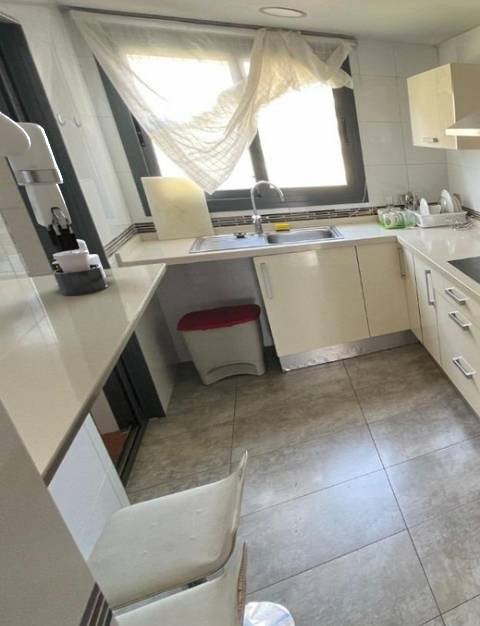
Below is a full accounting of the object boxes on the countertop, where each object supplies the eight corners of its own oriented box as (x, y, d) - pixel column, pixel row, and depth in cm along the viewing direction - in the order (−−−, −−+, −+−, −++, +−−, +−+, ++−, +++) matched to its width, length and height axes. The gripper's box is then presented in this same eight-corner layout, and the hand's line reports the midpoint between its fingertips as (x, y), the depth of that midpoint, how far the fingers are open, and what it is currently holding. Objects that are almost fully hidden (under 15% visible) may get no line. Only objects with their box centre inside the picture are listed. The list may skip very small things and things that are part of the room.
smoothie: (76, 293, 117) (53, 239, 112) (61, 290, 119) (39, 237, 114) (106, 286, 122) (86, 234, 117) (92, 283, 124) (72, 232, 119)
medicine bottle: (61, 288, 123) (43, 244, 118) (74, 281, 129) (57, 239, 124) (96, 285, 125) (79, 241, 121) (107, 278, 131) (91, 236, 127)
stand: (57, 298, 115) (47, 275, 113) (66, 289, 122) (57, 267, 120) (104, 291, 120) (95, 269, 118) (110, 283, 127) (102, 262, 124)
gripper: (10, 177, 112) (38, 246, 118) (22, 180, 103) (52, 255, 109) (53, 175, 118) (78, 241, 124) (69, 178, 108) (95, 249, 114)
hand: (66, 247), depth 116 cm, fingers open, 9 cm apart
